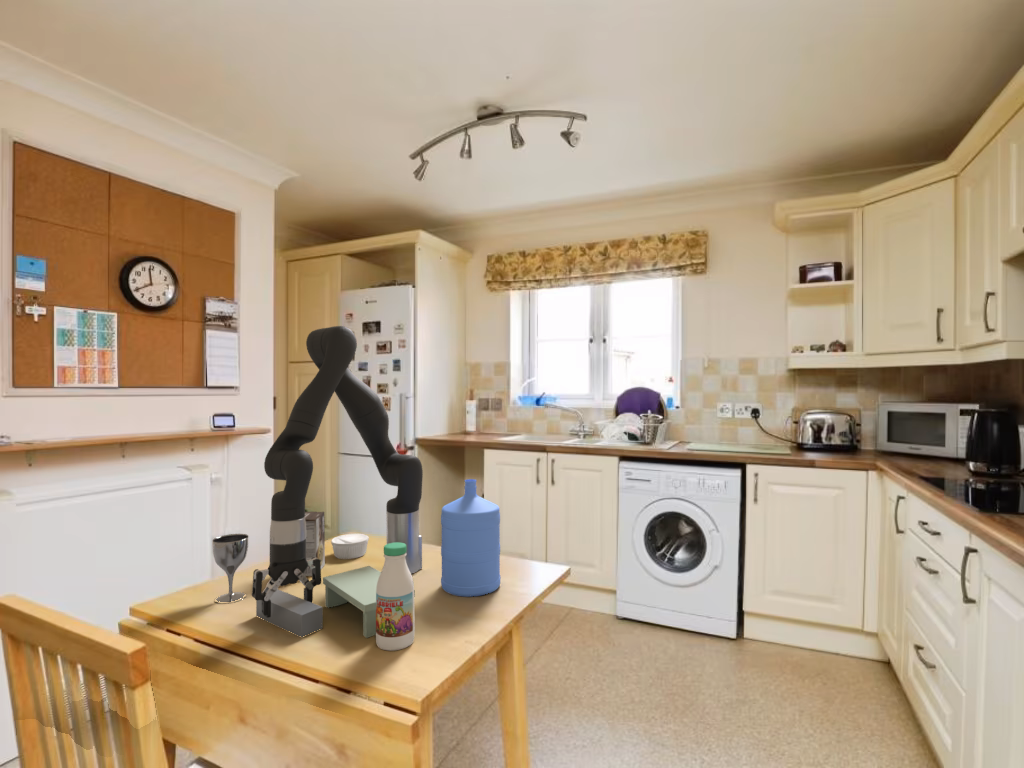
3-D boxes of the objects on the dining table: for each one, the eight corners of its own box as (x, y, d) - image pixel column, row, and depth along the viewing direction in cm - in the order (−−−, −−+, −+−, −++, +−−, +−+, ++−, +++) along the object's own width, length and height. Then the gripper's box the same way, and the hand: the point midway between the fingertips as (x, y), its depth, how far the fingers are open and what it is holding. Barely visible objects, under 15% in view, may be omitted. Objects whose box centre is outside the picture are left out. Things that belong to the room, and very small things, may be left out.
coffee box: (303, 566, 152) (303, 511, 152) (325, 565, 153) (325, 510, 153) (292, 577, 143) (292, 519, 143) (316, 576, 144) (316, 518, 144)
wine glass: (232, 605, 124) (232, 543, 124) (204, 603, 126) (204, 541, 126) (255, 593, 132) (255, 534, 132) (228, 590, 133) (228, 532, 134)
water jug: (508, 593, 131) (508, 483, 131) (448, 601, 126) (448, 487, 126) (490, 572, 146) (489, 474, 146) (435, 580, 140) (435, 477, 141)
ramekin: (324, 559, 158) (324, 542, 158) (342, 548, 169) (342, 532, 169) (358, 561, 156) (358, 544, 156) (374, 550, 167) (374, 534, 167)
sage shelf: (369, 593, 131) (369, 565, 131) (414, 621, 115) (414, 590, 115) (322, 606, 123) (322, 577, 123) (364, 639, 107) (364, 605, 107)
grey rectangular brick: (276, 610, 122) (276, 588, 122) (322, 630, 112) (322, 606, 112) (256, 617, 118) (256, 595, 118) (301, 639, 108) (301, 615, 108)
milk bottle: (379, 634, 109) (379, 540, 109) (416, 632, 110) (415, 538, 110) (372, 652, 101) (372, 551, 102) (412, 651, 102) (412, 550, 102)
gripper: (313, 529, 123) (313, 597, 122) (248, 540, 113) (248, 614, 113) (326, 535, 117) (325, 607, 117) (259, 548, 108) (258, 626, 107)
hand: (287, 610), depth 115 cm, fingers open, 8 cm apart
